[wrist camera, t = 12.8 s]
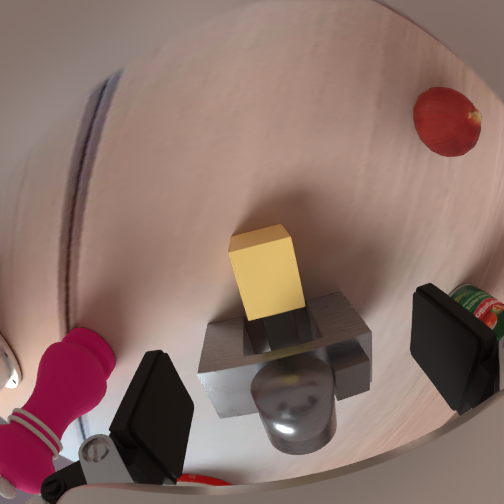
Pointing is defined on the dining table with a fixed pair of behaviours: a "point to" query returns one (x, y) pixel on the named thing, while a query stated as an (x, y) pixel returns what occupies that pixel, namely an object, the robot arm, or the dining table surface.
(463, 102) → the red rounded piece
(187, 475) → the kitchen timer
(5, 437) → the pepper mill
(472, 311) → the canned tomato
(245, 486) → the robot arm
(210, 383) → the block
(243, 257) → the yellow tipped gray bar
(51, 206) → the dining table surface
